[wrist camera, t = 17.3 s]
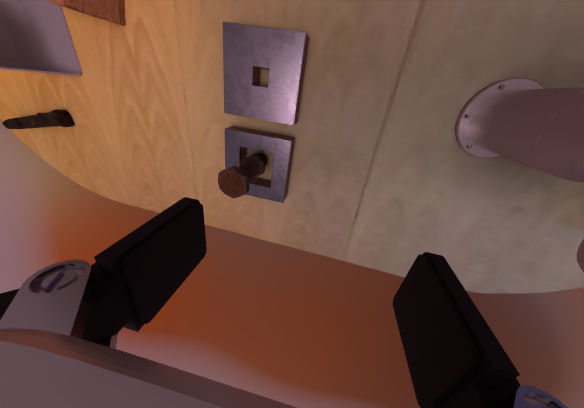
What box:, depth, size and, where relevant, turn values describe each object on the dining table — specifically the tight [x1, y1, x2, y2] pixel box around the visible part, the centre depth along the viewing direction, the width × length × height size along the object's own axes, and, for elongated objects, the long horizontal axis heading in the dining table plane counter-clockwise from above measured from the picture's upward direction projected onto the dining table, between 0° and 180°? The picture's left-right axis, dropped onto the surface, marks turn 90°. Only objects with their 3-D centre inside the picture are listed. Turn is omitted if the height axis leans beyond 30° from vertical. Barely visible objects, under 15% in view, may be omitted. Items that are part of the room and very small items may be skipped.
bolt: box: [218, 154, 267, 198], centre depth 42 cm, size 6×5×15 cm
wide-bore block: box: [225, 126, 295, 203], centre depth 47 cm, size 14×14×4 cm
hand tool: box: [3, 110, 75, 129], centre depth 53 cm, size 19×4×5 cm, turn 93°
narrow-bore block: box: [223, 22, 309, 125], centre depth 39 cm, size 14×14×4 cm
